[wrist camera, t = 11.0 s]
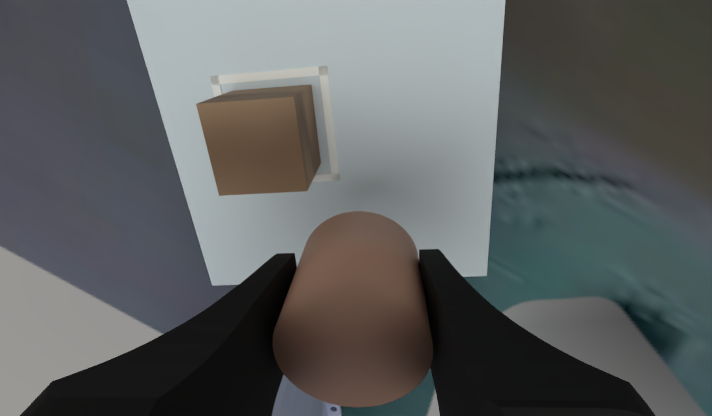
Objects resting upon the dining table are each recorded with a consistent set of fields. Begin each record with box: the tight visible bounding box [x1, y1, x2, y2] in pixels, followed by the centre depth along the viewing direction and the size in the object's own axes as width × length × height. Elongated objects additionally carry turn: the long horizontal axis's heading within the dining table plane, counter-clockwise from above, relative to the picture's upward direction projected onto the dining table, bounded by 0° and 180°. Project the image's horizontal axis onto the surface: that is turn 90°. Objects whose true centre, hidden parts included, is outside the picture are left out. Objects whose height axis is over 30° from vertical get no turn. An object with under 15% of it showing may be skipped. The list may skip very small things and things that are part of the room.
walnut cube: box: [196, 85, 321, 196], centre depth 17 cm, size 4×4×4 cm
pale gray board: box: [127, 0, 505, 286], centre depth 20 cm, size 17×17×1 cm
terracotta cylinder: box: [272, 211, 433, 407], centre depth 11 cm, size 4×4×4 cm
